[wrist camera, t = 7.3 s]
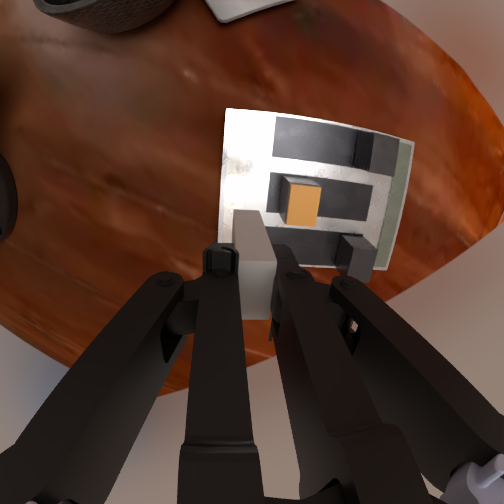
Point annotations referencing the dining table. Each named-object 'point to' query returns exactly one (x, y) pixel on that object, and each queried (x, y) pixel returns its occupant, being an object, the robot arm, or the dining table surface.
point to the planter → (104, 13)
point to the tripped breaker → (299, 201)
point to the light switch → (239, 7)
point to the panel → (325, 174)
